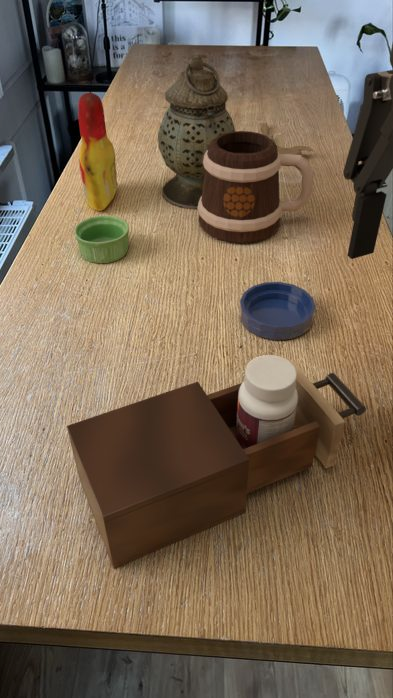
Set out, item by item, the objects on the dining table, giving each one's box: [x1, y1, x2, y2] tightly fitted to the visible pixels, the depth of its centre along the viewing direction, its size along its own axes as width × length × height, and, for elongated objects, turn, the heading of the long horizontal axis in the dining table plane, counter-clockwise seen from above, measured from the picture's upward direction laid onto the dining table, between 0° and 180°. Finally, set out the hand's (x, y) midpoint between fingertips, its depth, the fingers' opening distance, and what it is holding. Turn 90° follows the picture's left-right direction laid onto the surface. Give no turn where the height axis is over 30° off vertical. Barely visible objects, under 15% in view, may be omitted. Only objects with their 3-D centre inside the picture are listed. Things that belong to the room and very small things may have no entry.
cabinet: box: [66, 381, 249, 569], centre depth 60 cm, size 15×12×9 cm
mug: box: [197, 130, 315, 244], centre depth 101 cm, size 20×15×15 cm
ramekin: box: [73, 214, 130, 264], centre depth 98 cm, size 9×9×4 cm
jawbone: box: [260, 122, 314, 157], centre depth 131 cm, size 9×20×2 cm, turn 27°
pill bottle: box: [236, 354, 298, 449], centre depth 62 cm, size 6×6×11 cm
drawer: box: [207, 359, 367, 494], centre depth 65 cm, size 18×10×7 cm, turn 115°
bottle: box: [78, 92, 119, 211], centre depth 106 cm, size 12×6×20 cm, turn 175°
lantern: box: [157, 55, 236, 210], centre depth 107 cm, size 14×14×25 cm
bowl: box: [239, 281, 317, 341], centre depth 85 cm, size 11×11×3 cm
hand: (387, 275), depth 57 cm, fingers open, 8 cm apart
